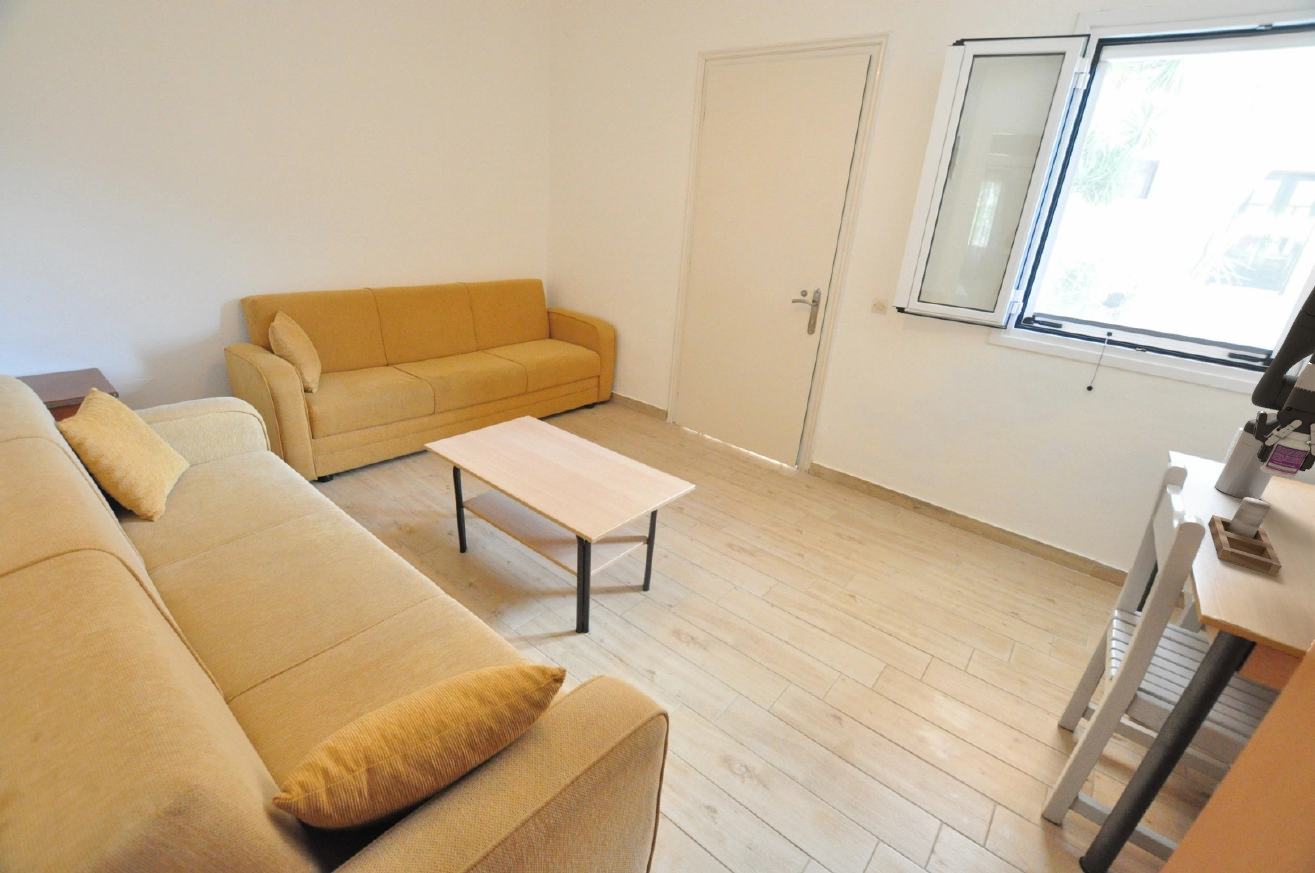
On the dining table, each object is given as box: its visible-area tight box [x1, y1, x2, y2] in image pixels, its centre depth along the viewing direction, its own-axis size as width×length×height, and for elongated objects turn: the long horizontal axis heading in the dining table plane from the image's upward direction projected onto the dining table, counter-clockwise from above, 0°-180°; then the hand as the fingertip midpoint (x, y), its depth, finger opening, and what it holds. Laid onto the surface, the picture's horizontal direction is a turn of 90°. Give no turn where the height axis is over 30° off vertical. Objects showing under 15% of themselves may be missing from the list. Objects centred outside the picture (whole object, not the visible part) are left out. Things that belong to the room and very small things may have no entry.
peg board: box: [1207, 497, 1283, 577], centre depth 125 cm, size 20×9×10 cm, turn 142°
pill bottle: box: [1260, 431, 1311, 480], centre depth 118 cm, size 5×5×10 cm
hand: (1280, 465), depth 119 cm, fingers closed on pill bottle, 5 cm apart
